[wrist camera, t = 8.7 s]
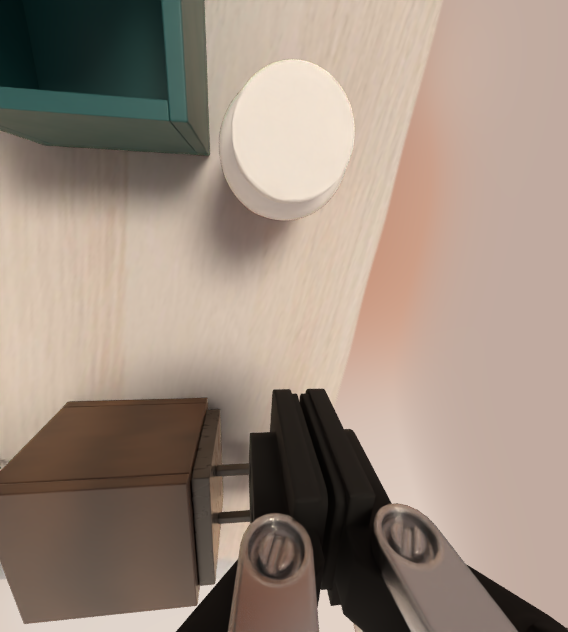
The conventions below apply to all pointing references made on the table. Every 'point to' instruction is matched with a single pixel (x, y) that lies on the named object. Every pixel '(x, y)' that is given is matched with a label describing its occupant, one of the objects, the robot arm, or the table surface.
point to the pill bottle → (287, 140)
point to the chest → (105, 74)
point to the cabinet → (103, 511)
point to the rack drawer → (211, 496)
